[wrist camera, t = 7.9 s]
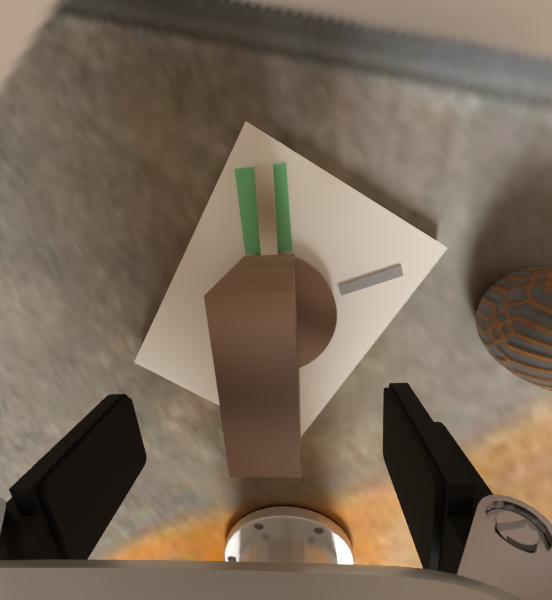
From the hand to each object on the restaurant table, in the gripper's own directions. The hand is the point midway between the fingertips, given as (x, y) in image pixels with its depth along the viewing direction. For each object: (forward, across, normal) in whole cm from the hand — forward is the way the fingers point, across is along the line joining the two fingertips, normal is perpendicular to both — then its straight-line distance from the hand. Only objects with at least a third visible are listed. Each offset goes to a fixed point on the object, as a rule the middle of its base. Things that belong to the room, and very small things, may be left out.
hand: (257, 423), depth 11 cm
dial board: (+11, 0, -1) cm, 11 cm away
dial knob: (+9, 0, -4) cm, 10 cm away
